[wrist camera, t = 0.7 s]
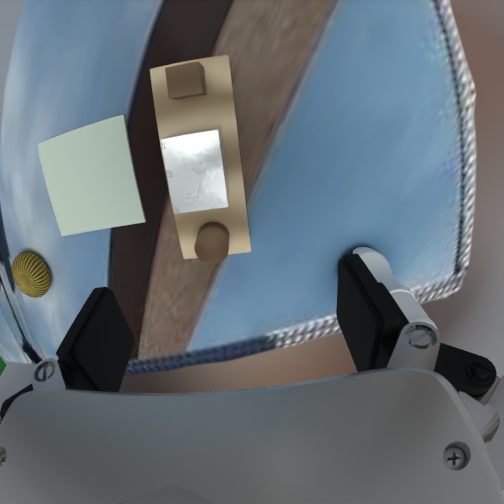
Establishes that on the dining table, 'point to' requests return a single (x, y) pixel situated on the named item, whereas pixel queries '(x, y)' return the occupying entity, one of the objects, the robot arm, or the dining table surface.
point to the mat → (92, 177)
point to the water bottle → (393, 285)
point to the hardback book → (2, 365)
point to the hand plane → (223, 114)
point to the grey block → (196, 170)
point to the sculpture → (31, 274)
